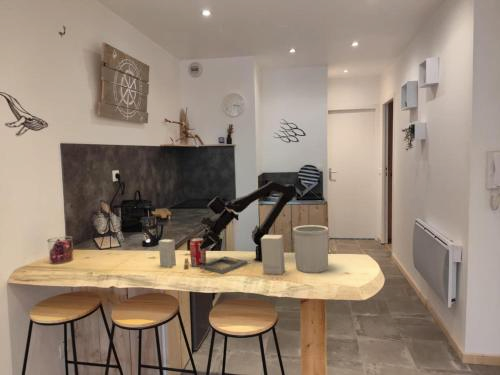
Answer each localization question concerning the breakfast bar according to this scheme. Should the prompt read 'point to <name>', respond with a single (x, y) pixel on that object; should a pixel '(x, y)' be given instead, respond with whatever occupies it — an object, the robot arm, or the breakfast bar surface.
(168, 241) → the skincare box
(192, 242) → the soda can
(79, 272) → the breakfast bar surface
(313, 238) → the utensil holder
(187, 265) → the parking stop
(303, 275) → the breakfast bar surface
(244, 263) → the plate
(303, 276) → the breakfast bar surface
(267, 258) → the skincare box
